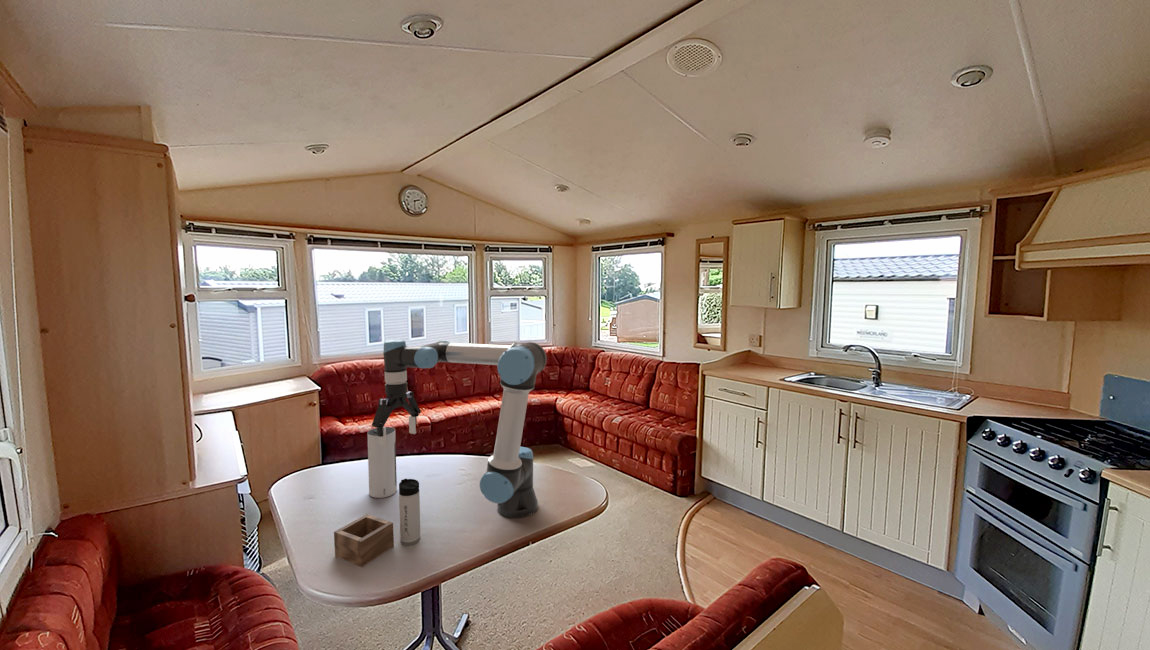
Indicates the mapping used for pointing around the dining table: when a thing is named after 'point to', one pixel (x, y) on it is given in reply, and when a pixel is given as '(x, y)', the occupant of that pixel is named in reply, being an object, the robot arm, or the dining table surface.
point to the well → (363, 540)
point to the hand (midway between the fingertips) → (398, 438)
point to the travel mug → (409, 511)
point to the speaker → (382, 464)
